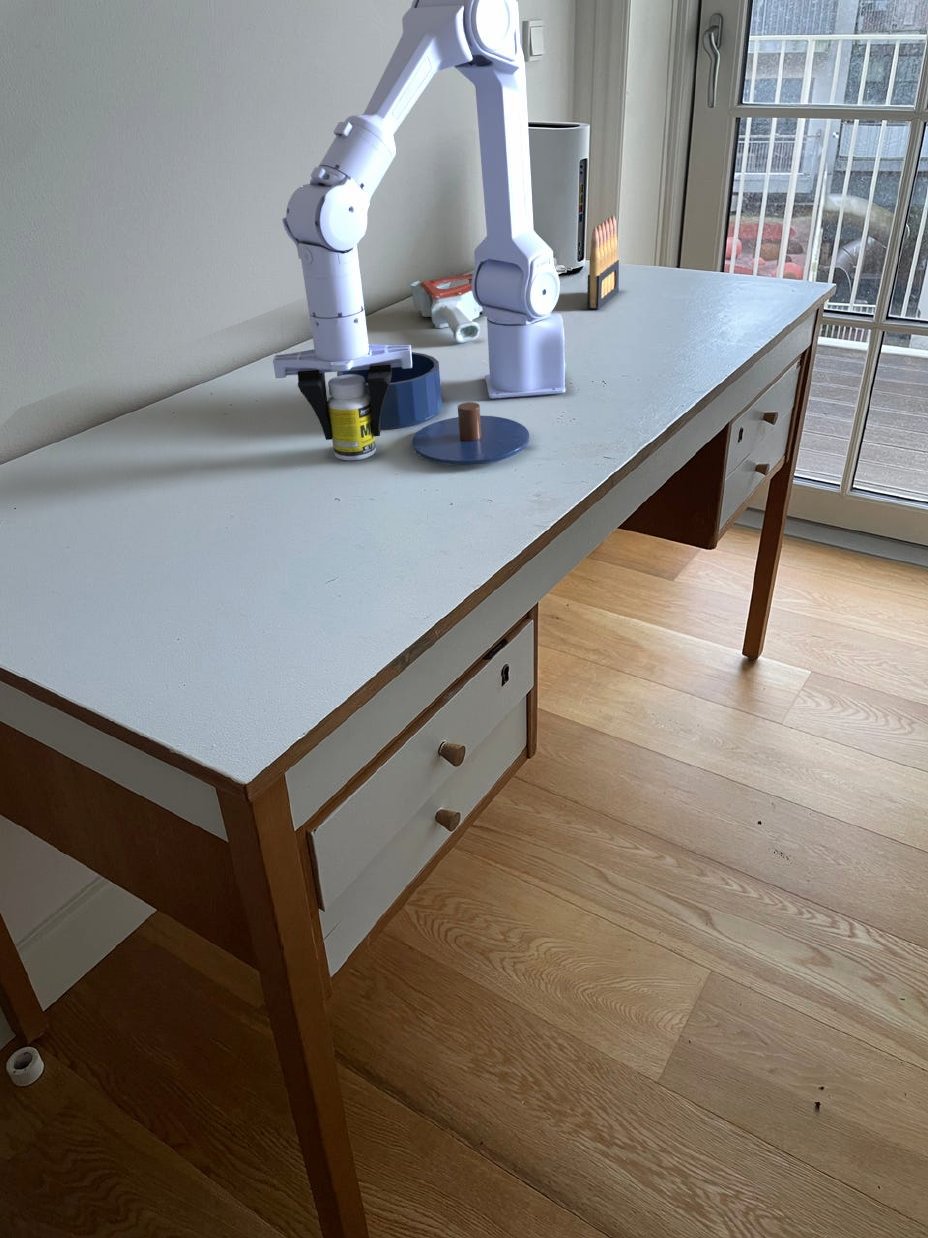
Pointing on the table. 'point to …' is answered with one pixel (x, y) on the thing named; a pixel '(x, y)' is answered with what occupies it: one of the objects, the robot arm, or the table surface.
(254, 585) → the table surface
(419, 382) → the tin
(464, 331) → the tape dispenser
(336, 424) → the supplement bottle
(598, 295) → the ammunition clip
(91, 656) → the table surface
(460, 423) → the tin lid
